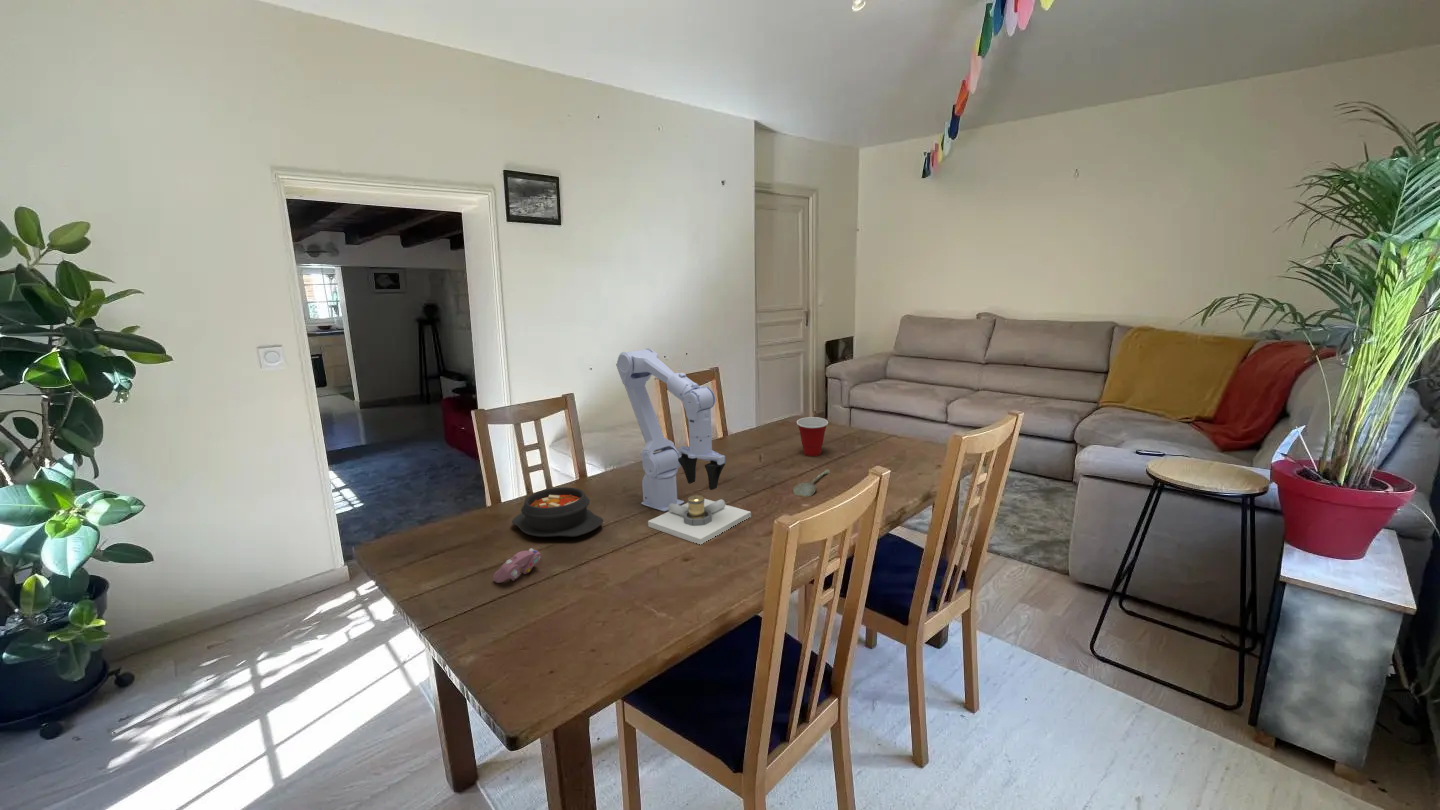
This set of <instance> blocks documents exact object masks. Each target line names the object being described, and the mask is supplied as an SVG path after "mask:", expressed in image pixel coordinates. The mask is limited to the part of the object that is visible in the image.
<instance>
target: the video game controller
mask: <svg viewBox="0 0 1440 810" xmlns="http://www.w3.org/2000/svg"><path fill="white" fill-rule="evenodd" d="M541 558H542V553H541V552H539V551H538V550H537V549H534V548H532V547H531V548H529V549H528V550H521V551H519V552H516V553H515V554H514V555H513V556H512V557H511V558H510V559H509V558H508V559H507V560H506V561H505V562H504V563H502V565H501V566H500V568H499V569H497V570H496V571H495V572H494V573H493V581H494V582H495V583H497V584H501V583H504V582H505V581H506V580H507V579H508V580H509V579H510V580H511V581H512V582H514V581H516V580H518V578H519V577H520V576H521V572H522V573H523V574H524V575H527V574H528V573H530V572H531V570H532V569H533V567H535V566H536V565H537V564H538V563H539V561H541ZM515 579H516V580H515Z"/></svg>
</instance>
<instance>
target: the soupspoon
mask: <svg viewBox="0 0 1440 810" xmlns="http://www.w3.org/2000/svg"><path fill="white" fill-rule="evenodd" d="M829 474H831V471H830V470H829V469H825V470H824V471H822V473H820V474H818V475H817V476H816V477H815V478H813V479H812V480H811V481H809V482H801V483H797V484H796V485H795V486H794V487H793V490H792V492H793V494H794V495H796V496H798V497H812V496H813V495H814V494H815V492H817V485H815V484H814V482H816V480H818V479H819V478H820V477H822V476H823V475H829Z"/></svg>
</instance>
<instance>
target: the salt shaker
mask: <svg viewBox="0 0 1440 810" xmlns="http://www.w3.org/2000/svg"><path fill="white" fill-rule="evenodd" d="M704 499H705V497H704V496H703V495H697V494H696V495H691V496H689V497H688V498H687V503H688V507H689V518H692V519H701V518H704V517H705V512H704Z"/></svg>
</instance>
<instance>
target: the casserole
mask: <svg viewBox="0 0 1440 810" xmlns="http://www.w3.org/2000/svg"><path fill="white" fill-rule="evenodd" d="M589 505H590V499H589V497H587V496H586V493H585V492H584V491H583V490H582V489H579V488H575V487H552V488H547V489H543V490H540V491H537V492H535V493H532V494H531V495H529V496H527V497H526V498H525V500H524V503H523V505H522V507H521V509H520V511H521V513H519V514H518V515H516V516H515V517H514V518H513V519H512V520H511V523H512V524H513V525H514V526H516V527H518V528H519V529H520V531H521V532H522V533H524V534H527V535H529V536H534V537H541V538H548V537H553V538H554V537H569V538H570V537H571V538H572V537H573V538H574V537H580V536H583V535H586V534H589V533H591V532H593V531H595V530H596V529H598V528H599V527H600V526H602V524H603V522H604V519H603V517H601V516H598V515H596V514H594V513H593V512H592V511H591V510H589V509H588V506H589Z"/></svg>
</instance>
